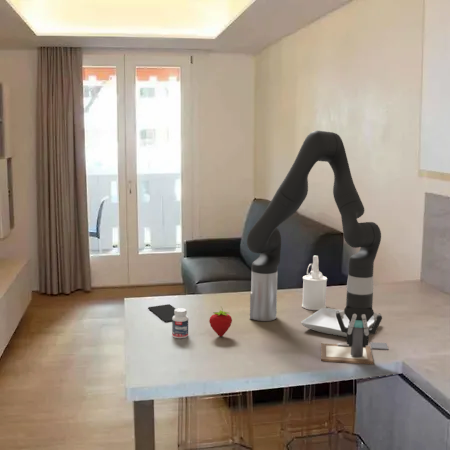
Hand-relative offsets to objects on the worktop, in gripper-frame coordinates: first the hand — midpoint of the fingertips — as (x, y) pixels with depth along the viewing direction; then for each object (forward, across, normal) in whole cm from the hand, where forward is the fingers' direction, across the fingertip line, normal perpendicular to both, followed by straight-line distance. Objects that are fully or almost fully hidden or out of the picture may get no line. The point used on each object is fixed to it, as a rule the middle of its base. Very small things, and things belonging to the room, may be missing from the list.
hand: (357, 345), depth 178 cm
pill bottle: (+4, -56, +9) cm, 57 cm away
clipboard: (+4, -3, +2) cm, 6 cm away
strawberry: (+4, -43, +11) cm, 45 cm away
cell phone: (+5, -66, +31) cm, 73 cm away
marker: (+3, 0, 0) cm, 3 cm away
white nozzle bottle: (+4, -13, +50) cm, 52 cm away
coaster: (+4, +8, +11) cm, 14 cm away
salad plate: (+4, -4, +27) cm, 28 cm away
